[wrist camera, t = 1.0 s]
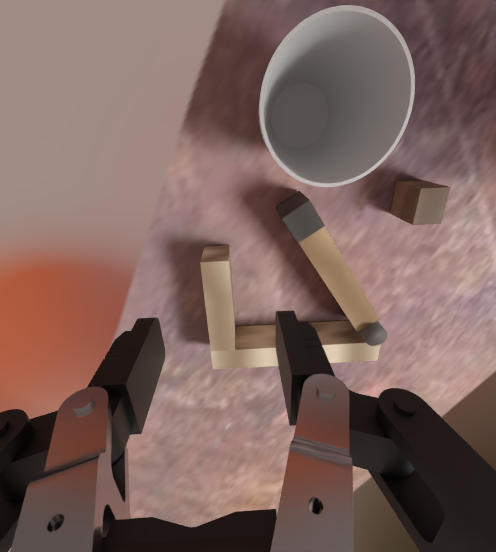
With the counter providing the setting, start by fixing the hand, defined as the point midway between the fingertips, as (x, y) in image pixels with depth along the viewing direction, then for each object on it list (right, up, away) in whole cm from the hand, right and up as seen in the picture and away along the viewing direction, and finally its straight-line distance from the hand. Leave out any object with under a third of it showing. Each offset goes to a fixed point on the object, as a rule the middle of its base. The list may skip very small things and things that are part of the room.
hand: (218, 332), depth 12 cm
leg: (+10, +4, +18) cm, 21 cm away
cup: (+6, +16, +12) cm, 21 cm away
